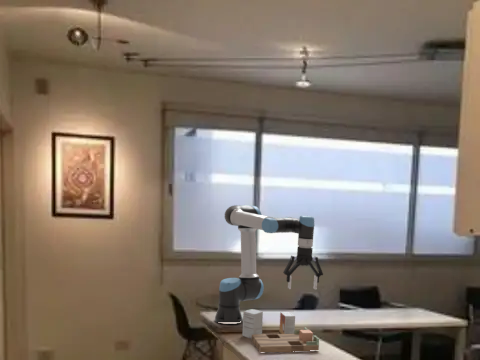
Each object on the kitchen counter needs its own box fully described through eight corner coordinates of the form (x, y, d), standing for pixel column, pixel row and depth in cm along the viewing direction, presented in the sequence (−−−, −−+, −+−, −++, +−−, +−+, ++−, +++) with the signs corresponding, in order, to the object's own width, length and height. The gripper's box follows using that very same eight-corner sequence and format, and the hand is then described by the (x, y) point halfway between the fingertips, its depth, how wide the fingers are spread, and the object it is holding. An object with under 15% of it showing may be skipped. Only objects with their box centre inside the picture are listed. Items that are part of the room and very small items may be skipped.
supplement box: (250, 333, 255) (251, 308, 255) (262, 336, 250) (263, 311, 250) (241, 336, 249) (242, 311, 249) (253, 339, 244) (254, 314, 244)
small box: (279, 332, 259) (280, 312, 259) (289, 331, 260) (290, 311, 260) (284, 336, 251) (285, 316, 251) (294, 336, 252) (295, 315, 252)
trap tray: (251, 340, 242) (252, 328, 242) (305, 339, 248) (306, 327, 248) (260, 353, 225) (261, 339, 225) (318, 351, 230) (319, 338, 231)
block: (299, 338, 240) (299, 329, 240) (308, 337, 241) (309, 329, 241) (302, 341, 235) (302, 333, 235) (312, 341, 236) (312, 332, 236)
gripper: (283, 247, 241) (280, 290, 242) (331, 248, 246) (328, 291, 247) (279, 244, 248) (276, 286, 249) (325, 246, 254) (322, 287, 254)
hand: (302, 288), depth 248 cm, fingers open, 13 cm apart
